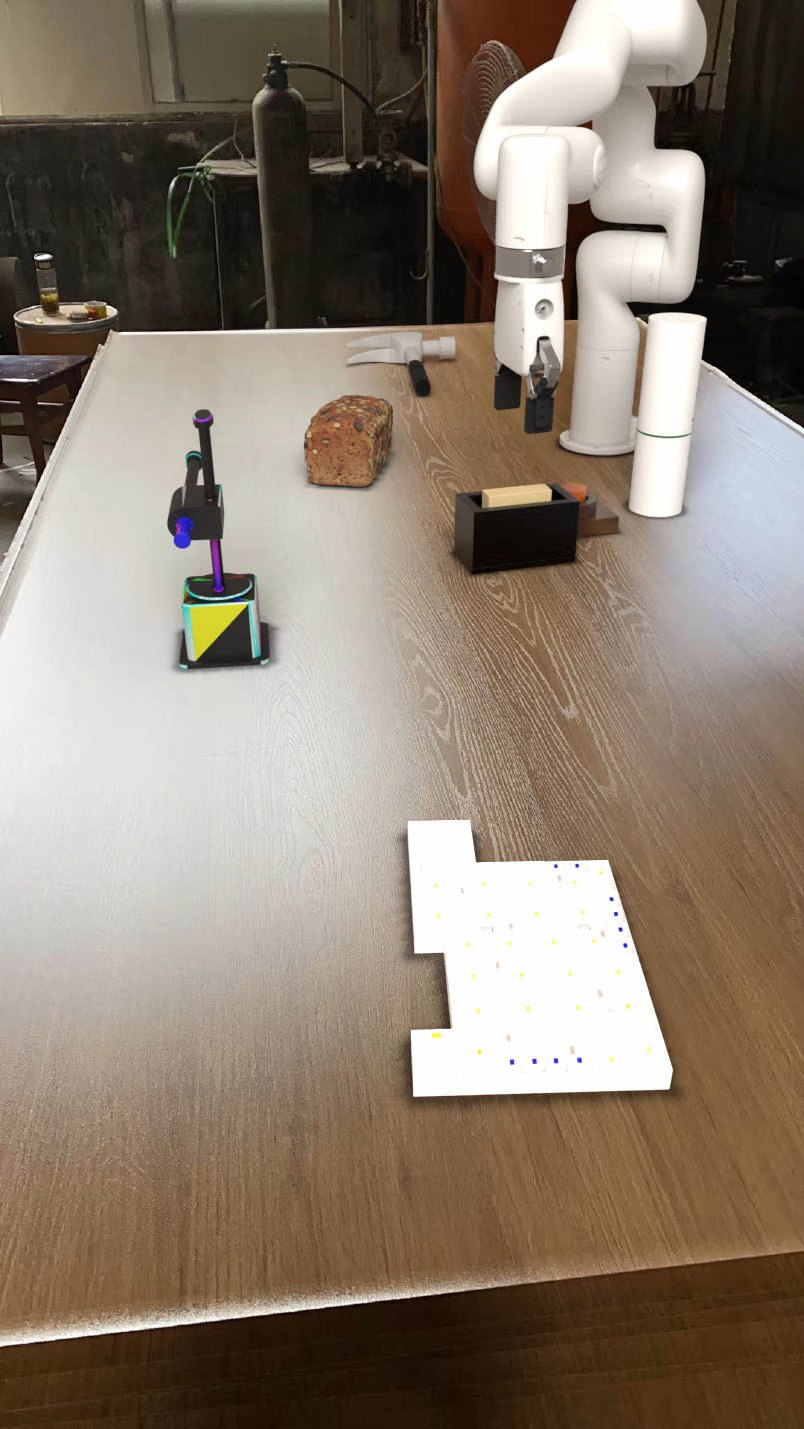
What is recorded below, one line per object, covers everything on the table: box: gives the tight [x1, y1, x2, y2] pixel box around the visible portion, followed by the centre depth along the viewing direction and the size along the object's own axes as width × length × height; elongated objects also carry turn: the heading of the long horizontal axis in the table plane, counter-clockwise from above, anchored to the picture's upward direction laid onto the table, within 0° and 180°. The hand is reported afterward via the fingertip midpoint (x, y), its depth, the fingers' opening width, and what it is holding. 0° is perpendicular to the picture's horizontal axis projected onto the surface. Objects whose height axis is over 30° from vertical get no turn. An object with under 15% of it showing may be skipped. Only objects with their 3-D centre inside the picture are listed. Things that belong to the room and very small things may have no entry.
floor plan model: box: [407, 819, 674, 1098], centre depth 75 cm, size 15×25×2 cm, turn 2°
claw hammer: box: [347, 331, 457, 397], centre depth 213 cm, size 6×22×30 cm
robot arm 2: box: [166, 408, 270, 670], centre depth 112 cm, size 25×9×24 cm, turn 7°
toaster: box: [453, 482, 580, 575], centre depth 133 cm, size 13×7×8 cm, turn 106°
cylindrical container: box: [628, 312, 708, 518], centre depth 143 cm, size 7×7×25 cm
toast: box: [481, 483, 552, 508], centre depth 132 cm, size 8×2×8 cm, turn 106°
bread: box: [303, 394, 394, 488], centre depth 163 cm, size 19×11×10 cm, turn 170°
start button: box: [559, 482, 588, 502], centre depth 142 cm, size 4×4×2 cm
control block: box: [577, 491, 620, 538], centre depth 143 cm, size 10×8×4 cm
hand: (522, 420), depth 127 cm, fingers open, 9 cm apart
